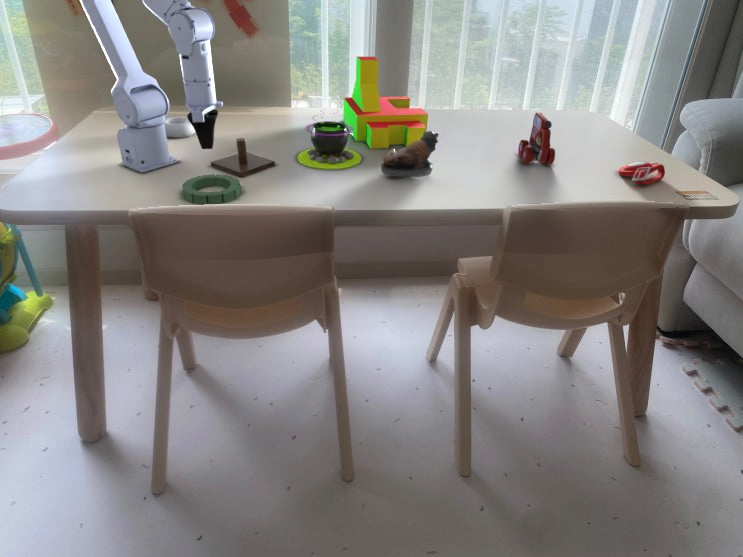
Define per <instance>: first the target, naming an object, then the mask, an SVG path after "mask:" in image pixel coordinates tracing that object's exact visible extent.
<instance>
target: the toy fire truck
mask: <svg viewBox="0 0 743 557" xmlns="http://www.w3.org/2000/svg"><path fill="white" fill-rule="evenodd" d="M552 125H553V123H552V121H550V120H548V118H547V117H546V116H545V115H544V113H543V112H535V113H534V117H533V120H532V127H531V130H530V136H529V139H520V141H519V143H518V149H517V150H518V151H517V152H518V156H519V157H521V159H522V160H521V161H522V164H528V165H529V164H531V162H533V161H537V162H538V163H542V164H545V165H548V166H549V165H550V166H551V165H553V164H554V162H555V159H556V150H555V148H554V147H551V135H552V132H551V128H552Z"/></svg>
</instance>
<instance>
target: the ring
mask: <svg viewBox="0 0 743 557" xmlns="http://www.w3.org/2000/svg"><path fill="white" fill-rule="evenodd" d="M215 186H217V187H224V189H221V190H216V191H200V190H199V189H202V188H205V187H215ZM181 188H182V194H183V198H184V200H187V201H188V202H190V203H191V204H192V203H194V204H199V205H217V204H223V203H227V202H230V201H233V200H235V199H237V198H238V197H239V196H240V195H241V194H242V185H241V182H240V180H239V179H238V178H237V177H234V176H232V175H228V174H218V173H217V174H215V173H213V174H203V175H197V176H195V177H192V178H189V179H187V180H186V181H184V182H183V183H182V184H181Z"/></svg>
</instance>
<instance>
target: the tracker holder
mask: <svg viewBox="0 0 743 557" xmlns="http://www.w3.org/2000/svg"><path fill="white" fill-rule="evenodd" d="M617 171H618V175H620V176H625V177H626V176H627V177H629V176H631V177H632V176H633V177H632V179H631V181H632V182H634V183H635V184H636V185H650V184H653V183H655V182H658V181H661V180H662V179H664V177H665V175H666V169H665V166H664V165H663V164H661V163H659V162H656V161H635V162H631V163H627V164H626V165H624V166H622V167H620V168H619V169H618V170H617ZM656 171H657V173H656V175H655V176H652V177H649V178H647V177H648V175H650V174H653V173H654V172H656Z"/></svg>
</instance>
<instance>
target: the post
mask: <svg viewBox="0 0 743 557" xmlns="http://www.w3.org/2000/svg"><path fill="white" fill-rule="evenodd" d="M235 141H236V142H235V143H236V152H237V153H235V154H232V155H229V156H226V157H222V158H219V159H216V160H213V161H210V167H212V168H214V169H218V170H220V171H223V172H226V173H228V174H231V175H234V176H237V177H240V178H244V177H246V176H250V175H252V174H254V173H255V174H256V173H257V172H260V171H263V170H266V169H269V168H271V167H275V165H276V161H275V160H272V159H270V158H267V157H263V156H261V155H257V154H254V153H251V152H248V151H247V140H246V138H243V137H238V138H236V139H235Z"/></svg>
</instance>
